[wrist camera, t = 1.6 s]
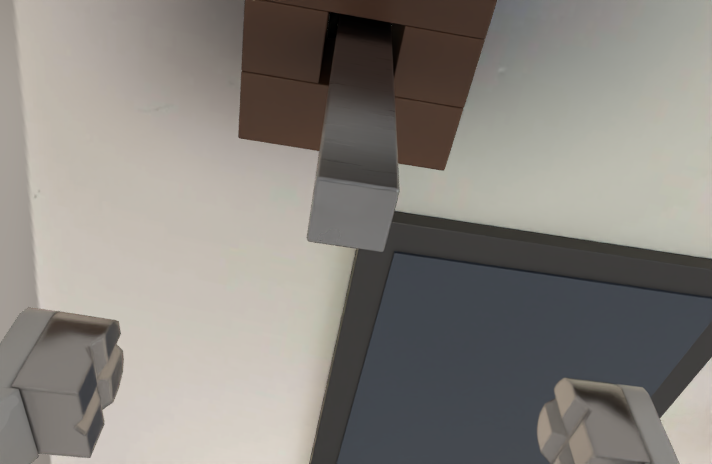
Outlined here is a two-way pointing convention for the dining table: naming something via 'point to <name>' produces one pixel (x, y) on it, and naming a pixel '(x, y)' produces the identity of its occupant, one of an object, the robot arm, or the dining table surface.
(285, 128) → the brown block with hole
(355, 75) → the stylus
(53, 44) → the dining table surface
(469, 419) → the drawing tablet
